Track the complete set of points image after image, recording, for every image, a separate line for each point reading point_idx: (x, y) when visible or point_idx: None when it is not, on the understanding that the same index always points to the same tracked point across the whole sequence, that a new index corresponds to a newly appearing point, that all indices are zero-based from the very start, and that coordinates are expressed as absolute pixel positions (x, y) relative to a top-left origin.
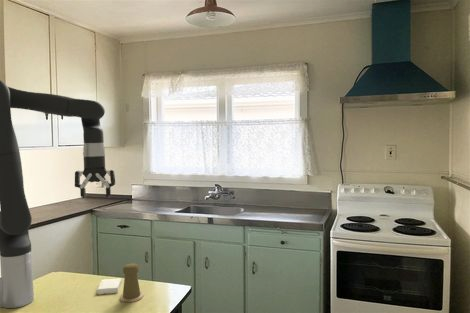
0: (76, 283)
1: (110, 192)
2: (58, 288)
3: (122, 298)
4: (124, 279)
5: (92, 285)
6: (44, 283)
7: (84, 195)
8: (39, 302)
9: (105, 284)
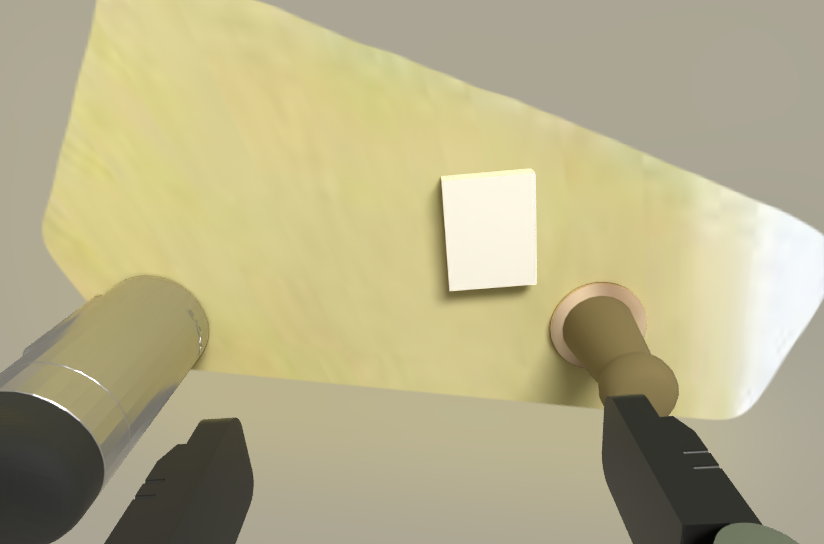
0: (307, 152)
1: (708, 466)
2: (247, 203)
3: (564, 349)
4: (593, 374)
5: (396, 186)
6: (143, 133)
7: (237, 511)
8: (240, 331)
9: (472, 244)
